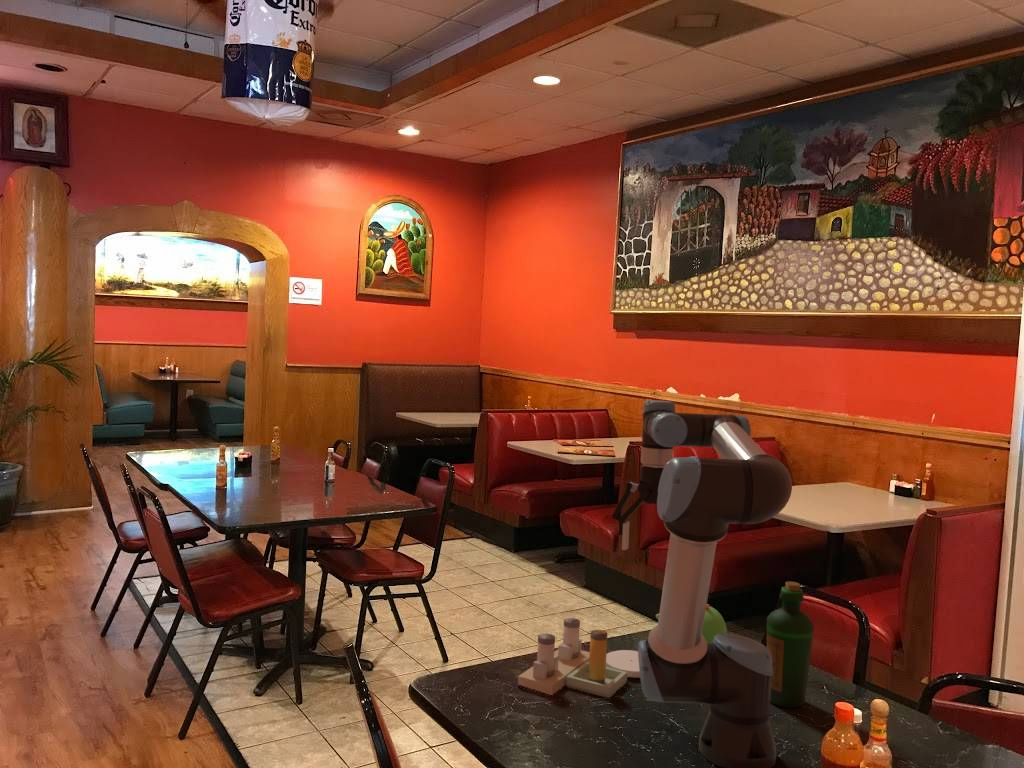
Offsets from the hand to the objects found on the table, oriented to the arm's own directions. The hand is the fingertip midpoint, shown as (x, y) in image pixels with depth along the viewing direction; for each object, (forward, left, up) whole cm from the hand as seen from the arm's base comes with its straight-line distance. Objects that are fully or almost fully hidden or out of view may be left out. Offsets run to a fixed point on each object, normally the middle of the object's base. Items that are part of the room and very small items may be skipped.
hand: (652, 553), depth 202 cm
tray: (-7, +10, -32) cm, 34 cm away
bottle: (+10, -31, -32) cm, 46 cm away
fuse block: (-7, +20, -32) cm, 38 cm away
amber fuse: (-7, +10, -31) cm, 34 cm away
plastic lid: (+7, +6, -33) cm, 34 cm away
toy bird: (+25, -4, -32) cm, 41 cm away
